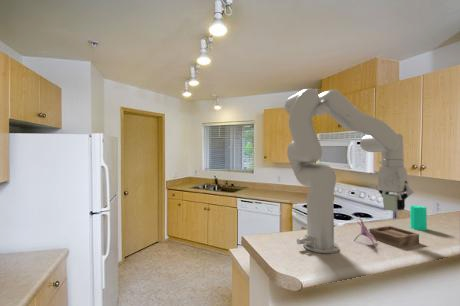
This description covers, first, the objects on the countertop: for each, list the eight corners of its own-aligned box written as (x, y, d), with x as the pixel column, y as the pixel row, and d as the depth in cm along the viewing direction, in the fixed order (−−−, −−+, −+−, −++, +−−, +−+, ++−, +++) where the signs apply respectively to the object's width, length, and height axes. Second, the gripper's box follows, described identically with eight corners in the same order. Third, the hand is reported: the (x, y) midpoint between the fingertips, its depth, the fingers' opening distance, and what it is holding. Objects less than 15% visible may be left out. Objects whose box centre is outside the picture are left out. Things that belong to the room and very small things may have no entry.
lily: (363, 253, 86) (378, 231, 85) (337, 232, 96) (350, 212, 95) (377, 255, 93) (391, 235, 91) (352, 235, 103) (364, 217, 101)
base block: (398, 248, 89) (398, 238, 89) (369, 238, 100) (369, 228, 100) (419, 244, 93) (418, 234, 93) (389, 234, 104) (389, 225, 104)
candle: (429, 230, 108) (429, 204, 108) (415, 230, 109) (414, 204, 109) (421, 226, 114) (421, 202, 114) (407, 226, 115) (407, 201, 115)
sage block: (395, 211, 93) (395, 196, 93) (383, 209, 98) (383, 194, 98) (404, 210, 95) (403, 195, 95) (392, 207, 100) (391, 193, 100)
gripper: (367, 163, 103) (368, 204, 103) (408, 164, 87) (409, 213, 87) (379, 163, 106) (380, 203, 106) (421, 164, 90) (422, 211, 90)
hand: (393, 207), depth 97 cm, fingers closed on sage block, 5 cm apart
